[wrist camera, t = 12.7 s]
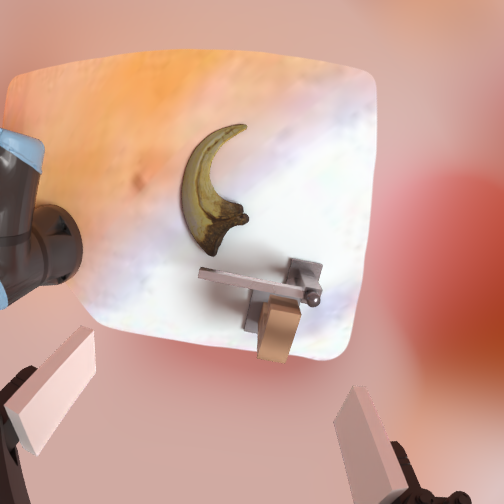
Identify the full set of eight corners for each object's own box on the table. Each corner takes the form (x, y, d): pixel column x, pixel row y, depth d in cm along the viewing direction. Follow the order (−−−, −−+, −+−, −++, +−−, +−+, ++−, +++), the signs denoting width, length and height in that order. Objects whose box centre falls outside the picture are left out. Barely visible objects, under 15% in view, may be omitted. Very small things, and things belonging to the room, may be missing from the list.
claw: (250, 250, 48) (249, 255, 45) (187, 252, 49) (182, 257, 45) (245, 125, 44) (243, 121, 40) (180, 131, 44) (174, 127, 41)
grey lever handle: (206, 271, 49) (193, 295, 39) (211, 241, 48) (199, 259, 38) (314, 292, 49) (326, 320, 39) (322, 264, 48) (336, 286, 38)
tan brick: (280, 327, 50) (285, 363, 40) (257, 322, 50) (257, 358, 40) (293, 285, 48) (301, 315, 38) (269, 280, 48) (271, 309, 38)
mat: (244, 329, 51) (244, 331, 51) (253, 287, 49) (253, 288, 49) (289, 337, 52) (289, 339, 51) (301, 296, 50) (301, 298, 49)
